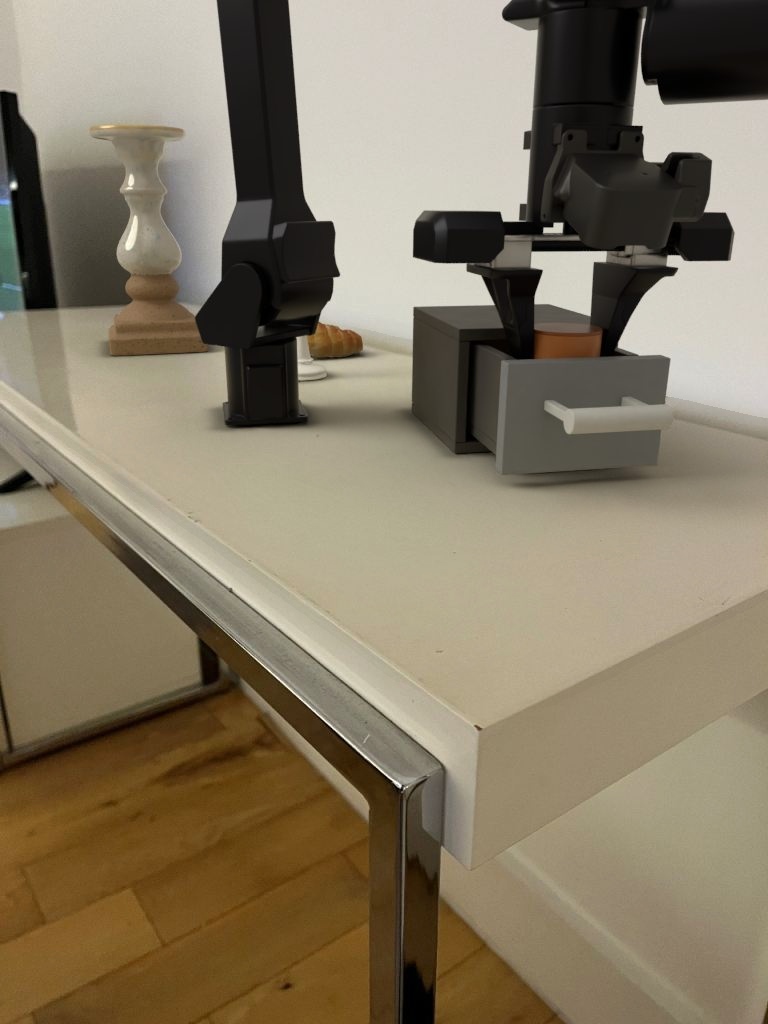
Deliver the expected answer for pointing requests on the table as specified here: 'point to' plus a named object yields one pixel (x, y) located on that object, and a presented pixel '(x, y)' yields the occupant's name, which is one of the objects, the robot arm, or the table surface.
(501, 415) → the drawer
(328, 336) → the pastry
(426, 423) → the small drawer cabinet
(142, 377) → the table surface
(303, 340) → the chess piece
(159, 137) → the candle holder
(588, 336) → the cylinder
